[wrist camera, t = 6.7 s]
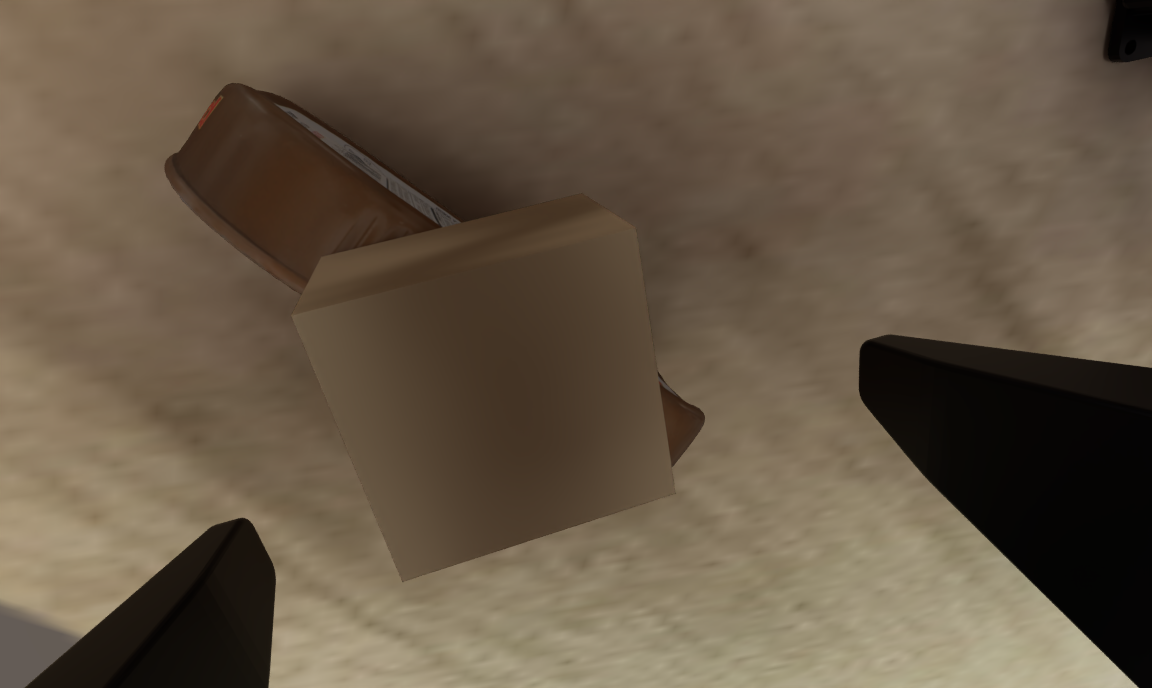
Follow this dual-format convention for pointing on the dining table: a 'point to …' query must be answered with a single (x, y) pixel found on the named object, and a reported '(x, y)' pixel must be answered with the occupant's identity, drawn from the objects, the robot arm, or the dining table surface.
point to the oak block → (491, 378)
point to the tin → (315, 200)
